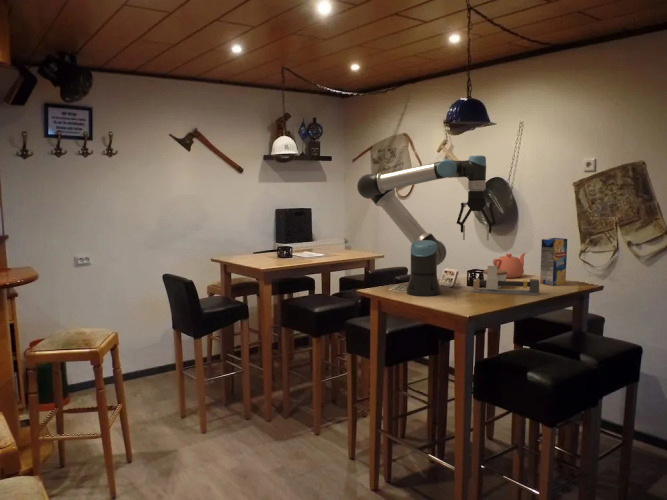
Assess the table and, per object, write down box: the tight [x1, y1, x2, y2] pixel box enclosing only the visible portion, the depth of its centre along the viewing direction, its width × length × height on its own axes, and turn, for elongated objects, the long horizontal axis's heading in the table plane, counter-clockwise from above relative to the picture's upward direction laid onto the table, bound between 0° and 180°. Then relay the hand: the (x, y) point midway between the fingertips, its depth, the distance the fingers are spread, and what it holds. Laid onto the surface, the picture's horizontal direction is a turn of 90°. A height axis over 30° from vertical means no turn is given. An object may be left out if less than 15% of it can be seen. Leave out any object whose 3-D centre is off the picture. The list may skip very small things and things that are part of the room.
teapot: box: [492, 252, 526, 279], centre depth 281 cm, size 22×15×12 cm
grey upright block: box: [485, 265, 499, 289], centre depth 240 cm, size 5×5×10 cm
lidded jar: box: [483, 268, 507, 289], centre depth 253 cm, size 11×11×9 cm
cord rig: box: [470, 278, 540, 296], centre depth 240 cm, size 29×7×6 cm, turn 76°
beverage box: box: [539, 237, 568, 287], centre depth 259 cm, size 7×11×22 cm, turn 125°
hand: (475, 239), depth 240 cm, fingers open, 10 cm apart
